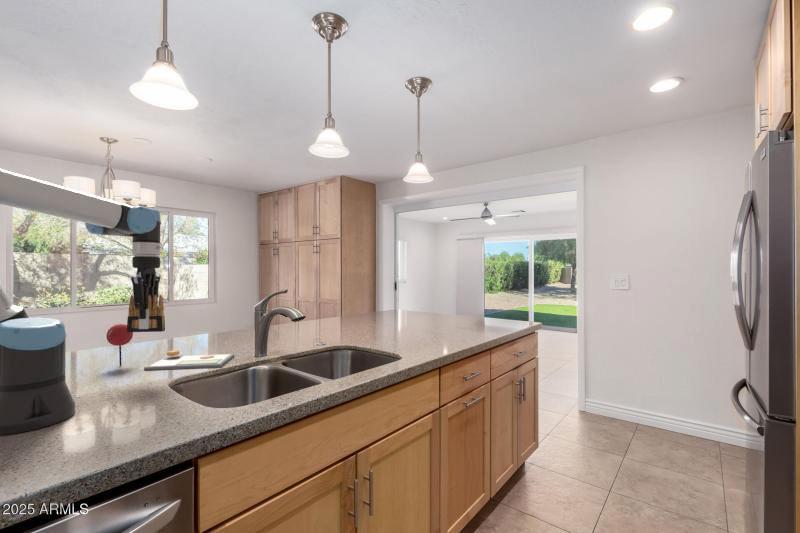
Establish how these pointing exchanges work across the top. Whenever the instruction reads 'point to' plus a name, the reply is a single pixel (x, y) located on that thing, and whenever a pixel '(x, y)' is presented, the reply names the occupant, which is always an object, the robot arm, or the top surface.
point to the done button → (173, 353)
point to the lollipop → (119, 336)
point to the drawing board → (190, 362)
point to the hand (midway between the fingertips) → (146, 328)
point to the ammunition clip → (154, 316)
